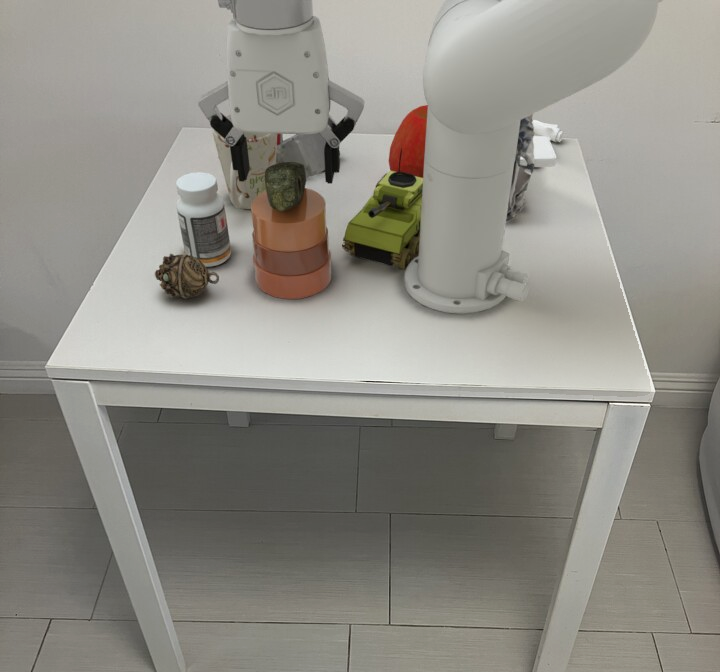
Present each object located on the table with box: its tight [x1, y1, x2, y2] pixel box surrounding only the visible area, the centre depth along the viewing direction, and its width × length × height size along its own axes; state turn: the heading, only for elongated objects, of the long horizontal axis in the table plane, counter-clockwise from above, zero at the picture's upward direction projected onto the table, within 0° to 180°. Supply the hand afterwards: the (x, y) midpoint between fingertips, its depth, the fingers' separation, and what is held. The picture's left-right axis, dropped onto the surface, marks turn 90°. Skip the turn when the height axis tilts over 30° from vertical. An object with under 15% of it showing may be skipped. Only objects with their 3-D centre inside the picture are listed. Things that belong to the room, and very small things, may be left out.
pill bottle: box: [175, 171, 232, 268], centre depth 97 cm, size 6×6×10 cm
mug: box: [211, 114, 277, 210], centre depth 105 cm, size 8×13×10 cm, turn 174°
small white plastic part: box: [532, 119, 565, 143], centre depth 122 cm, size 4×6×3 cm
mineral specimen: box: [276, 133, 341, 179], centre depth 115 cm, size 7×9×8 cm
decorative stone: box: [265, 162, 307, 211], centre depth 89 cm, size 12×4×5 cm, turn 177°
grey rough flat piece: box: [506, 114, 535, 223], centre depth 106 cm, size 15×4×13 cm, turn 178°
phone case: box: [520, 135, 558, 168], centre depth 118 cm, size 7×1×15 cm
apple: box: [388, 104, 428, 178], centre depth 109 cm, size 10×10×10 cm
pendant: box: [154, 253, 220, 300], centre depth 93 cm, size 5×8×5 cm, turn 85°
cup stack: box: [250, 187, 332, 300], centre depth 94 cm, size 9×9×10 cm
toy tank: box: [341, 148, 423, 271], centre depth 99 cm, size 8×15×10 cm, turn 154°
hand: (287, 176), depth 90 cm, fingers open, 9 cm apart
